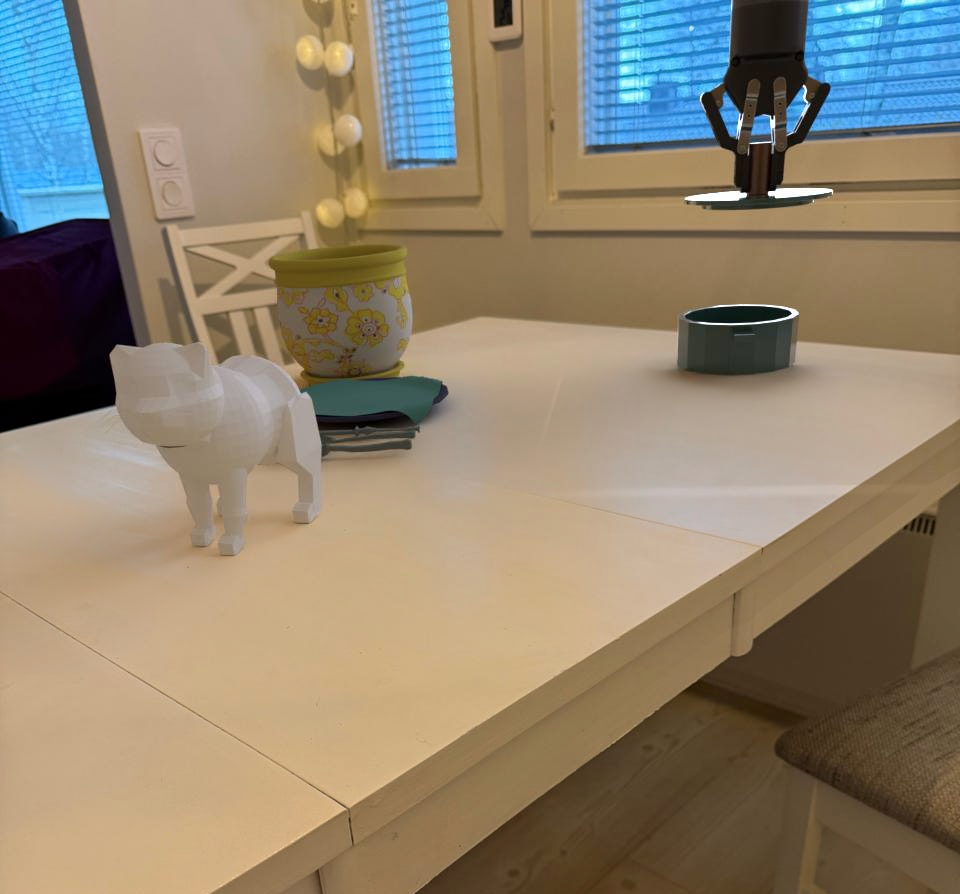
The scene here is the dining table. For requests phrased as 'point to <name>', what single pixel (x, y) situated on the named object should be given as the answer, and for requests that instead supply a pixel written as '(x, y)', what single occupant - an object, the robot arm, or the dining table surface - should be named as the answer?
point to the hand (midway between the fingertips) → (757, 191)
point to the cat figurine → (219, 428)
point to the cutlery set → (373, 408)
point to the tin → (737, 339)
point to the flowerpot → (344, 310)
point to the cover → (759, 188)
